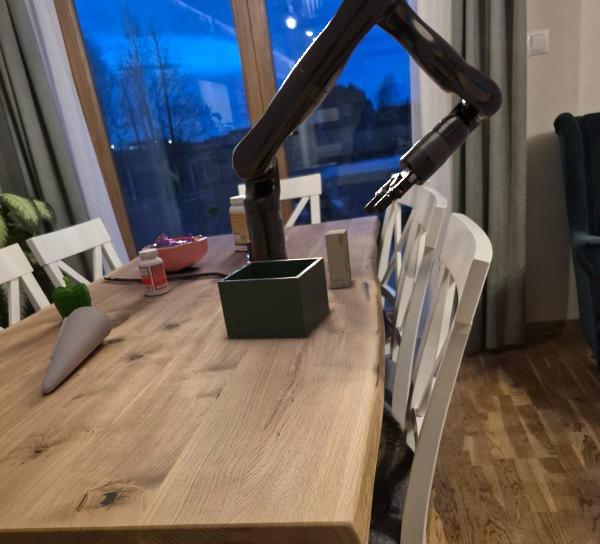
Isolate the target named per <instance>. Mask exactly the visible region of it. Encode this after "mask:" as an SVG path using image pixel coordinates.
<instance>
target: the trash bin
mask: <svg viewBox="0 0 600 544" xmlns="http://www.w3.org/2000/svg"><path fill="white" fill-rule="evenodd" d="M244 265H245V266H244ZM244 265H242V266H243V267H242V266H240V267H241V268H240V267H239V268H240V269H238V268H237V269H238V270H237V269H236V270H234V271H233V272H231V273H229V274H230V275H228V276H226V277H222V279H220V280H218V281H217V287H218V294H219V299H220V304H221V311H222V314H223V320H224V326H225V329H226V336H227V339H274V338H275V339H277V338H278V339H279V338H281V339H282V338H285V339H286V338H287V339H288V338H307V337H308V336H309V334H310V333H311V332H312V331H313V330H314V329H315V328H316V327H317V326H318V325H319V323H320V322H321V320H323V319H324V317H325V316H326V315H327V314H328V313H329V312H330V303H329V294H328V283H327V278H326V266H325V257H309V258H307V257H306V258H292V259H289V258H288V260H273V261H257V262H250V263H248V264H246V263H245V264H244Z"/></svg>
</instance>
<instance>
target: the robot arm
mask: <svg viewBox="0 0 600 544" xmlns="http://www.w3.org/2000/svg"><path fill="white" fill-rule="evenodd" d="M375 26H377V27H378V28H380V29H381V30H382V31H384V32H386V33H387V34H388V36H390V38H391V37H392V39H393V40H395V42H397V43H398V44H399V45H400V46H401V48H403V49H404V50H405V52H406V53H407V54H408V55H409V56H410V57H411V59H412V60H413V61H414V63H415V64H416V65H417V66H418V67H419V69H421V70H422V71H423V73H425V75H426V76H427V77H428V78H429V79H430V80H431V81H432V82H433V83H434V84H435V85H436V86H437V87H438V88H439V89H440V90H441V91H442V92H444V93H445V94H447V95H451V94H453V95H456V96H457V97H459V98H460V100H459V101H458V102H457V103H456V105H454V107H453V108H452V109H451V110H450V112H449V113H448V114H447V115H445V116H444V117H443V118H442V119H441V120H439V122H438V123H436V125H434V126H433V127H432V129H431V130H429V132H427V133H426V134H425V135H423V136H422V137H421V138H419V140H417V141H416V143H415V144H414V145H413V146H411V147H410V148H409V150H408V151H406V153H404V155H402V156H401V158H399V161H398V165H399V168H400V169H401V172H397V173H394V174H393V175H392V176H391V177H390V178H389V180H388V181H386V183H385V184H383V185H382V186H381V187H380V188H379V189H378V190H377V191H376V192H375V195H374V197H373V198H372V199H371V200H370V201H369V202H368V203H367V204H366V205H365V206H364V210H365V212H366V213H367V214H368V215H372V214H374V212H375V211H376V212H377V213H378V214H383V213H384V212H385V211H386V209H387V208H389V207H390V206H391V205H392V204H393V203H394V202H397V201H398V200H400V199H402V198H403V196H404V195H406V193H408V192H409V190H410V189H412V188H413V186H415V185H416V186H419V187H422V186H423V185H424V184H425V183H426V182H428V180H429V179H430V178H431V177H432V176H434V174H436V172H438V170H440V168H442V166H444V165H445V164H446V162H447V161H448V160H449V159H450V158H451V156H452V155H453V154H454V153H455V152H456V151H457V150H458V149H459V148H460V147H462V145H463V144H465V142H466V141H467V139H468V137H469V136H470V135H471V134H472V133H473V132H474V131H475V130H476V129H477V128H478V127H480V126H481V124H483V123H484V122H485V121H487V120H488V119H490V118H491V117H493V116H494V115H495V114H497V113H498V112H499V111H500V110H501V108H502V106H503V101H504V96H503V91H502V89H501V87H500V86H499V84H497V82H496V81H495V80H494V79H493V78H492V77H490V76H489V75H487V74H486V73H484V72H483V71H481V70H480V69H479V68H477V67H475V66H473V65H471V64H470V63H469V62H467V60H466V59H465V58H464V57H463V56H462V55H461V54H460V53H459V52H458V51H457V50H456V48H454V46H452V45H451V44H450V43H449V42H448V41H447V40H446V39H445V38H444V37H443V36H442V35H440V33H438V32H437V31H436V30H434V28H432V27H431V26H430V25H429V24H428V23H427V22H426V21H424V20H423V19H422V18H421V17H420V16H419V15H418V14H417V12H416V11H415V10H414V9H413V8H412V7H411V5H410V4H409V3H408V2H407V0H342V1H341V3H340V4H339V6H338V8H337V10H336V12H335V14H333V16H332V18H331V20H330V21H329V22H328V24H327V25H326V26H325V28H324V29H323V30H322V32H320V33H319V35H318V36H316V38H315V39H314V40H313V42H311V44H310V46H308V48H307V49H306V51H305V52H304V53H303V55H302V56H301V58H299V59H298V61H297V63H296V64H295V65H294V67H292V70H291V71H290V72H289V74H288V75H287V77H286V79H285V80H284V81H283V83H282V85H281V86H280V88H279V89H278V90H277V92H276V93H275V95H274V97H273V98H272V100H271V101H270V103H269V105H268V106H267V108H266V110H265V112H264V113H263V115H262V116H261V117H260V118H259V120H258V121H257V122H256V124H254V126H253V127H252V128H251V129H250V130H249V131H248V132H247V134H246V135H245V136H244V137H243V138H242V139H241V140H240V142H239V143H238V144H237V145H236V146H235V147H234V149H233V151H232V157H231V166H232V169H233V172H234V173H235V175H236V176H237V177H238V178H239V179H241V180H243V181H244V187H245V188H244V189H245V190H244V191H245V192H244V195H245V196H244V199H243V206H244V212H245V218H246V224H247V230H248V237H249V242H247V250H248V251H247V258H248V261H247V262H245V264H244V265H242V266H240V267H238V268H237V269H236V270H238V269H240V268H241V267H243V266H245V265H246V264H248V263H250V262H257V261H273V260H289V258H288V257H289V256H288V249H287V243H286V236H285V235H286V234H285V228H284V219H283V214H282V207H281V194H282V193H281V191H282V190H281V189H282V188H281V178H280V168H279V161H278V156H277V153H278V152H279V150H280V148H281V147H282V145H283V144H284V143H285V141H286V140H287V139H288V137H290V136H291V134H292V133H294V132H295V131H296V130H297V129H298V128H299V127H300V126H301V125H303V124H304V123H305V122H306V121H307V120H308V119H309V118H310V117H311V116H312V115H313V114H314V113H315V112H316V110H317V109H318V108H319V107H320V106H321V104H322V103H323V102H324V101H325V99H326V98H327V96H328V95H329V94H330V92H331V91H332V89H333V88H334V87H335V85H336V83H337V82H338V80H339V79H340V77H341V75H342V73H343V71H344V70H345V68H346V65H347V63H349V60H350V58H351V56H352V55H353V54H354V51H356V49H357V47H358V46H359V45H360V43H361V42H362V41H363V40H364V39H365V37H366V36H367V35H368V34H369V33H370V31H372V29H373V28H374V27H375ZM383 193H384V194H383ZM230 274H231V273H223V272H219V271H209V272H200V273H192V274H182V275H173V276H172V275H171V276H166V278H167V281H174V280H185V279H195V278H203V277H222V278H225V277H226V276H228V275H230ZM105 277H106V276H104V277H103V280H104V281H111V282H123V283H143V282H142V278H126V277H125V278H123V277H111V276H108V277H109V278H105ZM111 278H114V279H111Z"/></svg>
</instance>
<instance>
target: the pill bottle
mask: <svg viewBox="0 0 600 544" xmlns="http://www.w3.org/2000/svg"><path fill="white" fill-rule="evenodd" d="M157 255H158V252H157V249H147V250H140V251H138V257H139V259H140V260H139V261H138V265H137V266H138V270H139V273H140V279H142V282H141V283H142V286H143V290H144V294H145V295H146V296H148V297H154V296H160V295H163V294H166V293H168V292H169V291H170V287H169V283H168V280H167V278H166V277H167V275H166V271H165V270H164V266H163V261H162V259H161V258H159V257H157Z"/></svg>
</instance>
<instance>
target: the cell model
mask: <svg viewBox="0 0 600 544" xmlns="http://www.w3.org/2000/svg"><path fill="white" fill-rule="evenodd" d="M208 241H209V240H208V237H207V236H203V235H201V234H199V235H196V236H193V235H192V233H188V236H183V237H175V238H169V237H168V236H167V234H165V233H161V234H160V235H159V236H158V237H157V238H156V240H155V242H154V243H151V244H148V245H145V246H144V247H142V248H141V251H143V250H147V249H157V252H158V255H157V257H159V258H161V259H162V261H163V266H164V270H165V272H167V273H173V272H175V273H176V272H179V271H181V270H183V269H186V268H190V267H194V266H195V265H198V264H199V263H200V262H201V261H202V260H203V259H204V258H205V256H206V255H207V253H208V250H209V242H208Z"/></svg>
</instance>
